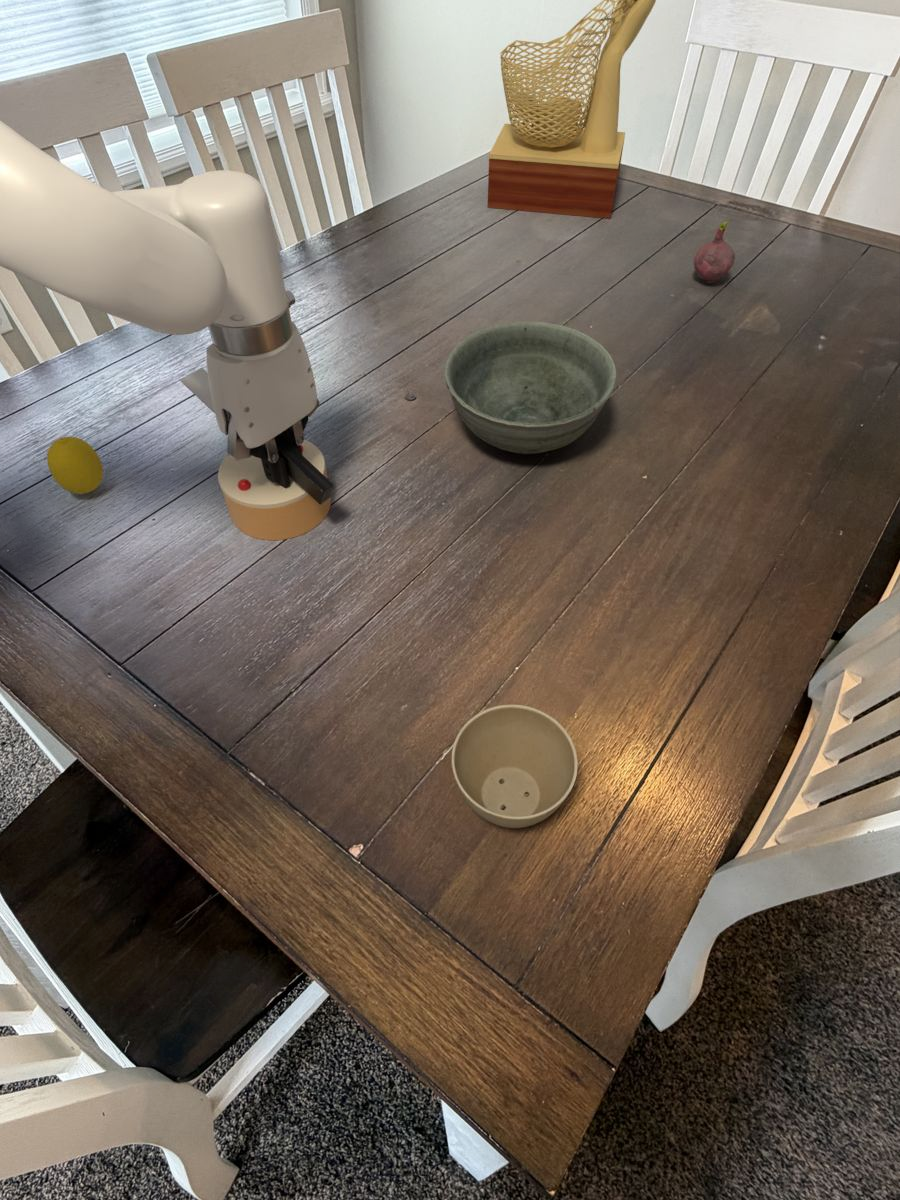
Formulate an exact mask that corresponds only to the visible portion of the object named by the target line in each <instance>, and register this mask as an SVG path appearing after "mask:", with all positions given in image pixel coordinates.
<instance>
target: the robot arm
mask: <svg viewBox="0 0 900 1200" xmlns="http://www.w3.org/2000/svg"><path fill="white" fill-rule="evenodd" d="M273 222H274V221H273V216H272V212H271V207H270V202H269V198H268V194H267V192H266V190H265V188H264V187H263V184H261V182H260V181H259V180H258V179H257V178H255V177H254V176H252V175H251V174H248V173H245V172H244V171H243V172H242V171H238V170H229V169H225V170H224V169H223V170H221V169H220V170H211V171H205V172H202V173H198V174H195V175H193V176H191V177H188V178H187V179H185V180H184V181H182V182H181V183H177V184H171V185H170V184H169V185H164V186H155V187H145V188H133V189H124V190H117V191H112V192H111V191H110V190H108V189H106V188H104V187H102V186H101V185H99V184H97V183H95V182H93V181H92V180H90V179H88V178H86V177H85V176H83V175H82V174H80V173H78V172H76V171H75V170H73V169H71V168H70V167H68V166H67V165H65V164H64V163H62V162H60V161H59V160H57V159H56V158H54V157H53V156H51V155H49V154H48V153H46V152H45V151H44V150H42V149H40V148H39V147H38V146H37V145H35V144H33V143H32V142H31V141H29V140H28V139H26V138H25V137H24V136H22V135H21V134H20V133H18V132H17V131H16V130H15V129H13V128H12V127H10V126H9V125H8V124H6V123H4V122H3V121H2V120H1V119H0V267H1V268H3V269H6V270H9V271H10V272H11V273H12V272H13V273H14V274H17V275H19V276H21V277H23V278H25V279H27V280H29V281H31V282H34V283H36V284H38V285H40V286H42V287H45V288H47V289H49V290H51V291H53V292H55V293H57V294H60V295H61V296H64V297H66V298H67V299H70V300H73V301H75V302H78V303H80V304H83V305H84V306H87V307H90V308H92V309H94V310H97V311H100V312H102V313H104V314H107V315H109V316H113V317H115V318H119V319H121V320H123V321H126V322H129V323H132V324H134V325H136V326H137V325H138V326H140V327H143V328H146V329H148V330H151V331H154V332H157V333H160V334H166V335H173V336H181V335H182V336H184V335H191V334H195V333H198V332H200V331H203V330H205V329H208V331H209V335H210V338H211V342H212V343H210V345H209V346H206V370H207V371H206V372H207V373H208V380H209V386H210V392H211V397H212V402H213V406H214V411H215V413H214V415H215V418H216V421H217V425H218V428H219V430H220V432H221V433H222V434H223V435H224V436H225V437H227V449H226V454H227V455H229V456H231V457H232V458H234V459H235V460H242V459H246V458H250V457H251V456H254V457H257V458H261V461H262V465H263V469H264V472H265V476H266V477H267V479H268V480H270V481H271V482H273V483H274V482H276V483H277V484H279V485H280V486H282V487H284V488H287V487H289V486H290V480H289V476H288V473H287V468H286V464H285V460H284V459H283V458H282V457H281V456H279V453H278V450H277V446H276V442H275V439H274V437H275V436H277V435H278V434H280V435H281V436H282V437H283V438H285V439H286V440H287V441H288V442H289V443H290V444H291V445H292V446H293V447H294V448H295V449H296V450H297V451H298V452H299V453H301V454H302V450H301V444H302V443H303V442H304V440H305V433H304V432H305V429H306V427H307V425H308V422H309V418H311V417H312V415H313V414H314V413H315V412H316V411H317V409H318V408H319V406H320V400H319V399H318V394H317V385H316V381H315V375H314V371H313V368H312V364H311V360H310V357H309V354H308V351H307V348H306V345H305V343H304V340H303V338H302V336H301V333H300V331H299V329H298V327H297V325H296V324H295V322H294V321H292V317H291V312H290V311H291V310H290V309H291V307H292V306H293V305H295V304H296V297H295V295H294V293H293V292H292V291H291V290H289V289H288V290H286V286H285V285H286V284H285V281H284V275H283V270H282V269H283V268H282V265H281V264H282V263H281V259H280V253H279V248H278V243H277V239H276V233H275V228H274V223H273Z"/></svg>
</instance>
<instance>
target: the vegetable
mask: <svg viewBox="0 0 900 1200" xmlns="http://www.w3.org/2000/svg"><path fill="white" fill-rule="evenodd" d="M728 224H729V223H728V221H724V222H723V223H721V224H720V225H719V227H718V229H717V231H716V234H715V236H714V239H713V240H711V241H709V242H708V243H704V244H703V245H702V246H701V247H700V248H698V250H697V252H695V253H696V254H695V256H694V259H693V266H694V270H695V272H696V273H697V275H698V276H699V277H700V278H701V279H702V280H704V282H705V283H706V284H712V283H715V282H717V281H718V280H719V279H721V278H723V277H724V276H725V275H726V274H727V273H728V272H729V271H730V270H731V269H732V268H733V266H734V263H735V262H736V261H735V260H736V255H735V251H734V249H733V247H732V246H731V245H730V244H729V243H728V242H726V241H724V233H725V231H726V227H727V226H728Z"/></svg>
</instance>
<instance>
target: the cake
mask: <svg viewBox="0 0 900 1200" xmlns="http://www.w3.org/2000/svg"><path fill="white" fill-rule="evenodd" d="M301 450H302V455H303V456H304V457H305V458H306V459H307V460H308V461H309V462H310V463H311V464H312V465H313V466H314V467H315V468H317V469H318V470H319V471H320V472H321V473H322V474H323V475H324V476H325V477H326V478H327V479H328V480H329V478H328V473H327V467H326V460H325V457H324V455H323V452H321V450H320V449H319V448H318V447H317V446H316V445H315V444H313V443H312V442H311V441H309V440H307V439H304V442H303V443H302V444H301ZM288 476H289V475H288ZM217 480H218V482H219V486H220V490H221V492H222V495H223V498H224V502H225V504H226V507H227V511H228V514H229V516H230V519H231V522H232V523H233V525H234V526H235V527H236V528H237V529H238V530H239V531H240V532H241V533H243V534H245V535H246V536H249V537H251V538H253V539H257V540H262V541H284V540H289V539H293V538H296V537H299V536H301V535H304V534H306V533H308V532H310V531H312V530H313V529H314V528H316V527H317V526H318V525H319V524H321V523H322V521H324V519H325V518H326V517H327V515H328V513H329V511H330V510H331V506H332V496H331V497H330V498H329V499H327V500H326V501H325V502H324V503H322V504H321V505H320V504H319V503H318V502H316V501H315V500H314V499H313V498H312V497H311V496H310V495H309V494H308V493H307V492H306V491H305V490H304V489H303V488H302V487H301V486H300V485H298V484H297V483H296V482H295V481H294V480H293V479H292V478H291V477H290V476H289V480H290V486H289V487H287V488H284V487H282V486H280V485H279V484H277V483H276V482H274V483H273V482H271V481H270V480H268V479H267V477H266V476H265V472H264V469H263V465H262V461H261V458H257V457H254V456H251V457H250V458H246V459H242V460H235V459H234V458H232V457H231V456H229V455H228V454H227V455H226V456H225V457H224V459H223V460H222V462H221V463H220V465H219V468H218V472H217Z"/></svg>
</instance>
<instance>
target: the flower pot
mask: <svg viewBox="0 0 900 1200" xmlns="http://www.w3.org/2000/svg"><path fill="white" fill-rule="evenodd" d="M578 767H579V761H578V753H577V749H576V746H575V743H574V742H573V739H572V738H571V736H570V734H569V733H568V731H567V730H566V729H565V727H564V726H563V725H562V724H561V723H560V722H559V721H557V720H556V718H554V717H552V716H551V715H550V714H548V713H546V712H544V711H542V710H540V709H537V708H535V707H531V706H527V705H522V704H501V705H496V706H492V707H488V708H486V709H484V710H482V711H480V712H479V713H477V714H475V715H474V716H472V717H471V718H469V719H468V721H466V722H465V724H464V725H463V726H462V727H461V729H460V730H459V732H458V733H457V734H456V737H455V739H454V742H453V745H452V750H451V770H452V774H453V776H454V781H455V782H456V785H457V787H458V789H459V792H460V794H461V796H462V797H463V799H464V800H465V801H466V803H467V804H468V806H469V807H470V808H471V809H473V811H474V812H475V813H476V814H478V816H480V818H482V819H484V820H485V821H487V822H489V823H490V824H492V825H496V826H499V827H502V828H506V829H507V828H508V829H522V828H527V827H531V826H534V825H536V824H538V823H540V822H542V821H544V820H545V819H547V818H549V817H550V816H551V815H552V814H553V813H556V811H557V810H558V809H559V808H560V807H561V806H562V804H563V803H565V801H566V799H567V798H568V796H569V795H570V793H571V791H572V790H573V787H574V785H575V784H576V780H577V775H578V769H579V768H578Z"/></svg>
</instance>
